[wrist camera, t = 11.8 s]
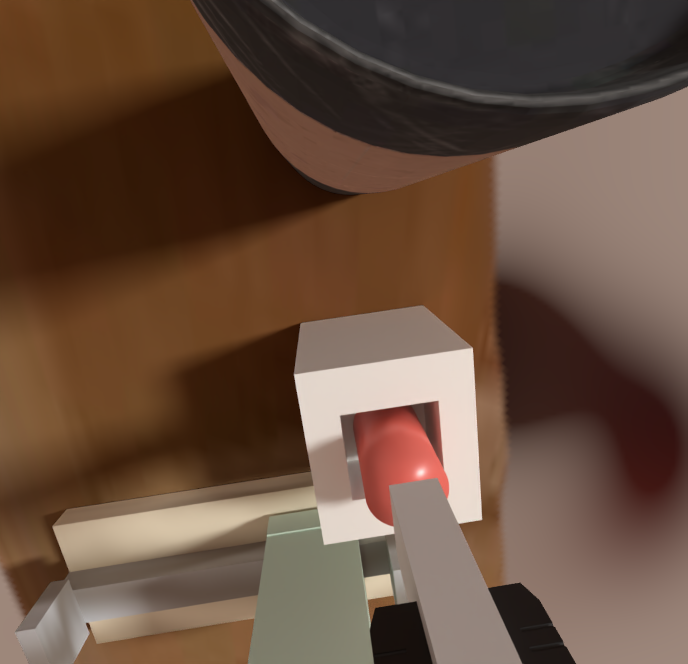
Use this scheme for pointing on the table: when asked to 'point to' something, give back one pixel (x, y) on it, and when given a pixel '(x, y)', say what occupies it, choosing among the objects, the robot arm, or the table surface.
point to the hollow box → (384, 407)
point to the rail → (184, 536)
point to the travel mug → (438, 76)
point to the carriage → (310, 597)
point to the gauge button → (393, 455)
